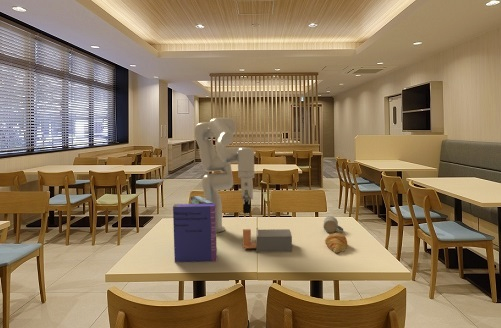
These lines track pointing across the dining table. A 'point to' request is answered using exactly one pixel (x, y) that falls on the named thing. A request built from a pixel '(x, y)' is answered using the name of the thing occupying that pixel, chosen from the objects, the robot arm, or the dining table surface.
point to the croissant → (336, 242)
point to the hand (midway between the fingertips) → (247, 211)
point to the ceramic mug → (332, 225)
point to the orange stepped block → (248, 239)
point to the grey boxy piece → (274, 240)
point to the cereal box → (195, 232)
